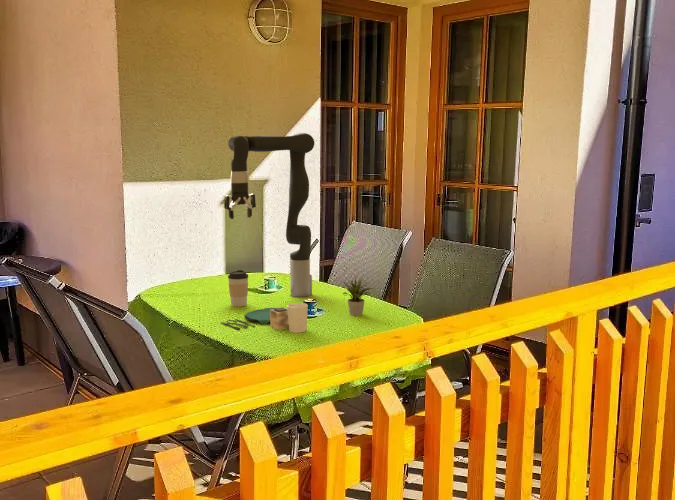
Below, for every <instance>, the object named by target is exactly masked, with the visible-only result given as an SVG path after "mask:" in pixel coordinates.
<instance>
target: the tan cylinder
mask: <svg viewBox="0 0 675 500" xmlns="http://www.w3.org/2000/svg"><path fill="white" fill-rule="evenodd" d="M308 307H309V305H308V304H307V303H304V302H303V303H302V302H293V303H288V304H287V305H286V309H287V311H288V324H289V328H288V331H289V332H290V333H294V334H296V333H297V334H301V333H305V332H307V327H308V326H307V324H308V312H309V311H308V310H309V309H308Z"/></svg>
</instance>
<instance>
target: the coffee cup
mask: <svg viewBox="0 0 675 500" xmlns="http://www.w3.org/2000/svg"><path fill="white" fill-rule="evenodd" d="M227 279H228V289H229V297H230V306H232V307H244V306H247V305H248V296H249V295H248V292H249V274H248V273H247V272H246V271H244V270H243V269H242V270H241V269H238V270H236V271H230V273H229V274H228V275H227Z"/></svg>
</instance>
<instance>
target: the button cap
mask: <svg viewBox="0 0 675 500" xmlns="http://www.w3.org/2000/svg"><path fill="white" fill-rule="evenodd" d="M274 308H275V309H274V311H277V312H283V311H287V308H286V307H282V306H281V307H274Z"/></svg>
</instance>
